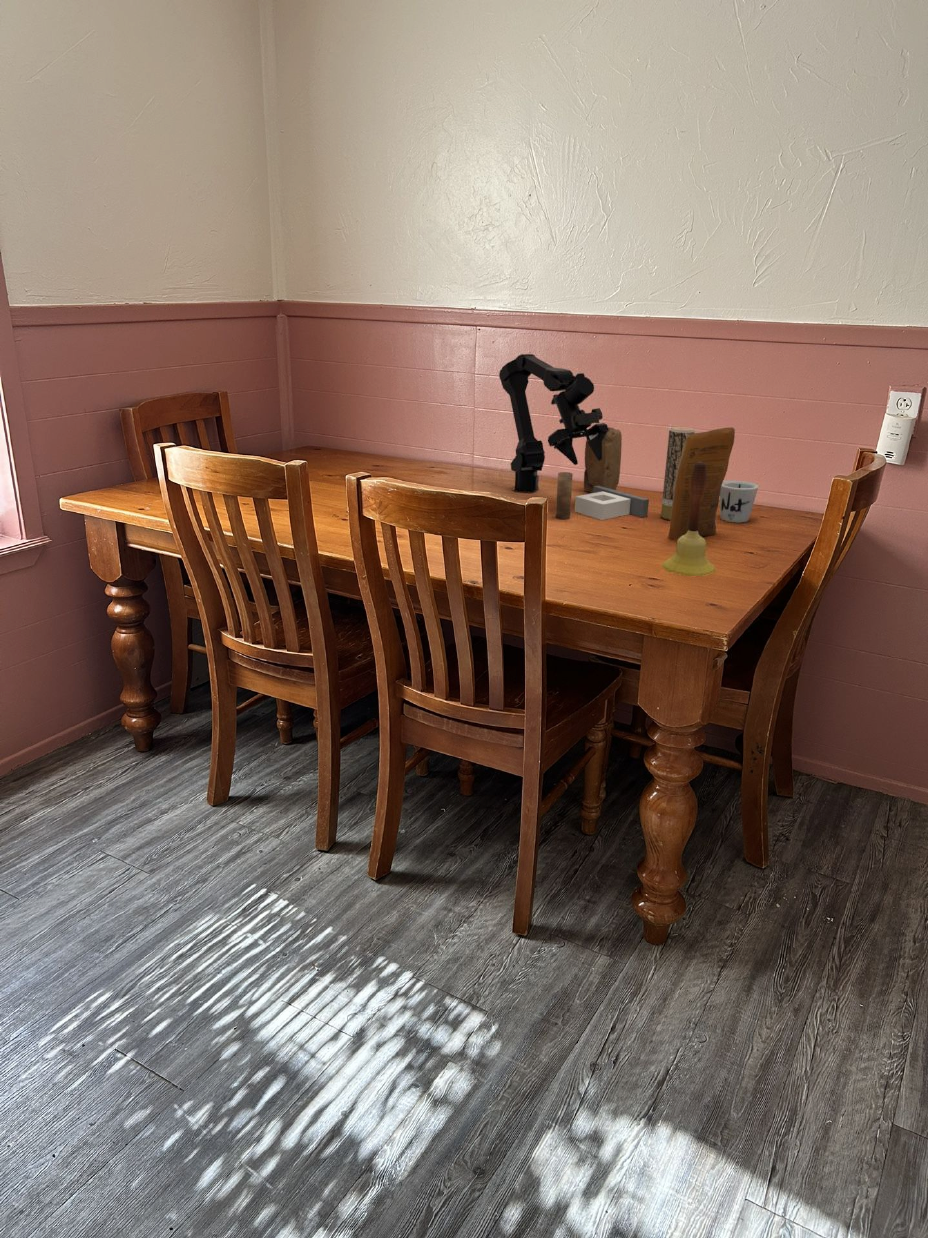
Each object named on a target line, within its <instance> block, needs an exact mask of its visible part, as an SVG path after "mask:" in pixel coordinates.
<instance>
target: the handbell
mask: <svg viewBox="0 0 928 1238" xmlns="http://www.w3.org/2000/svg"><path fill="white" fill-rule="evenodd" d="M706 480H707V472H706V464H705V462H696V464H695V467H694V470H693V473H692V478H691V486H690V491H691V496H692V502H691V511H690V519H689V528H688V532H687V533H686V534H685V535H683V536H681V537H680V538H679V539H677V540H676V541H677V543H676V546H675V553H674V554H673V555H672V556H671V557H669V558H668V559H666V560H665V561H664V562H663V563H662V564H661V567H663V570H664V569H665V570H664V571H666V570H668V571H669V573H670V572H674V573H676V574H675V575H677V574H681V575H680V576H683V575H685V576H684V577H692V576H700V577H704V576H703V575H706V574H711V573H713V572H715V573H716V571H715V570H716V567H715V566H714V565H713V564H712V562H711V561H709V560H708V557H707V556H706V550H707V549H706V548H707V543H706V540H705V538H703V536H702V537H701V536H700V535H699V534H698V525H699V516H700V508H701V501H702V497H703V495H704V492H705V489H706ZM668 571H667V572H668ZM674 573H673V574H674ZM711 575H712V574H711Z"/></svg>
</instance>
